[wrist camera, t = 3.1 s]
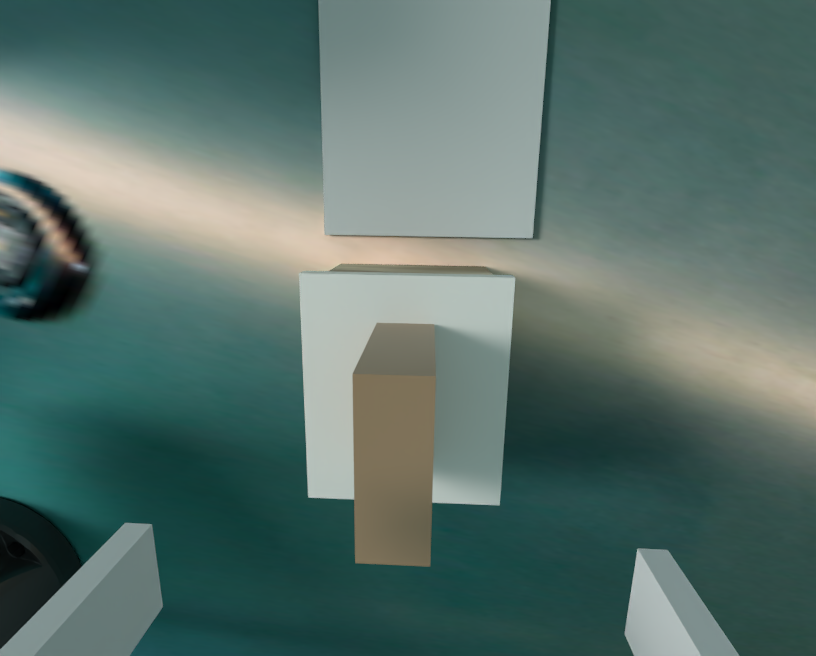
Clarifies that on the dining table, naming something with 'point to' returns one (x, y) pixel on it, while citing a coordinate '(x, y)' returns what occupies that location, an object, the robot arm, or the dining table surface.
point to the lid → (404, 398)
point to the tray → (431, 116)
